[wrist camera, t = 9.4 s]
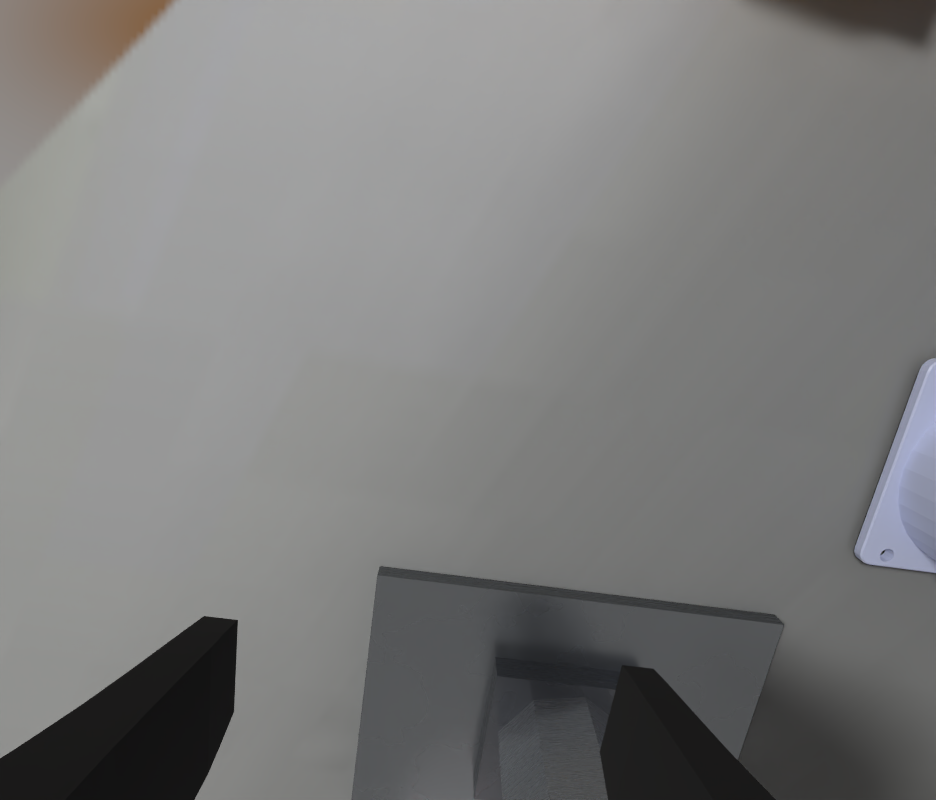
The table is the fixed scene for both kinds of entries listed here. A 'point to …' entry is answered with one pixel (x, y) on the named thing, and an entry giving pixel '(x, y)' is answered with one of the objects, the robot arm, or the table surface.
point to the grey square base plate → (529, 672)
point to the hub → (554, 751)
